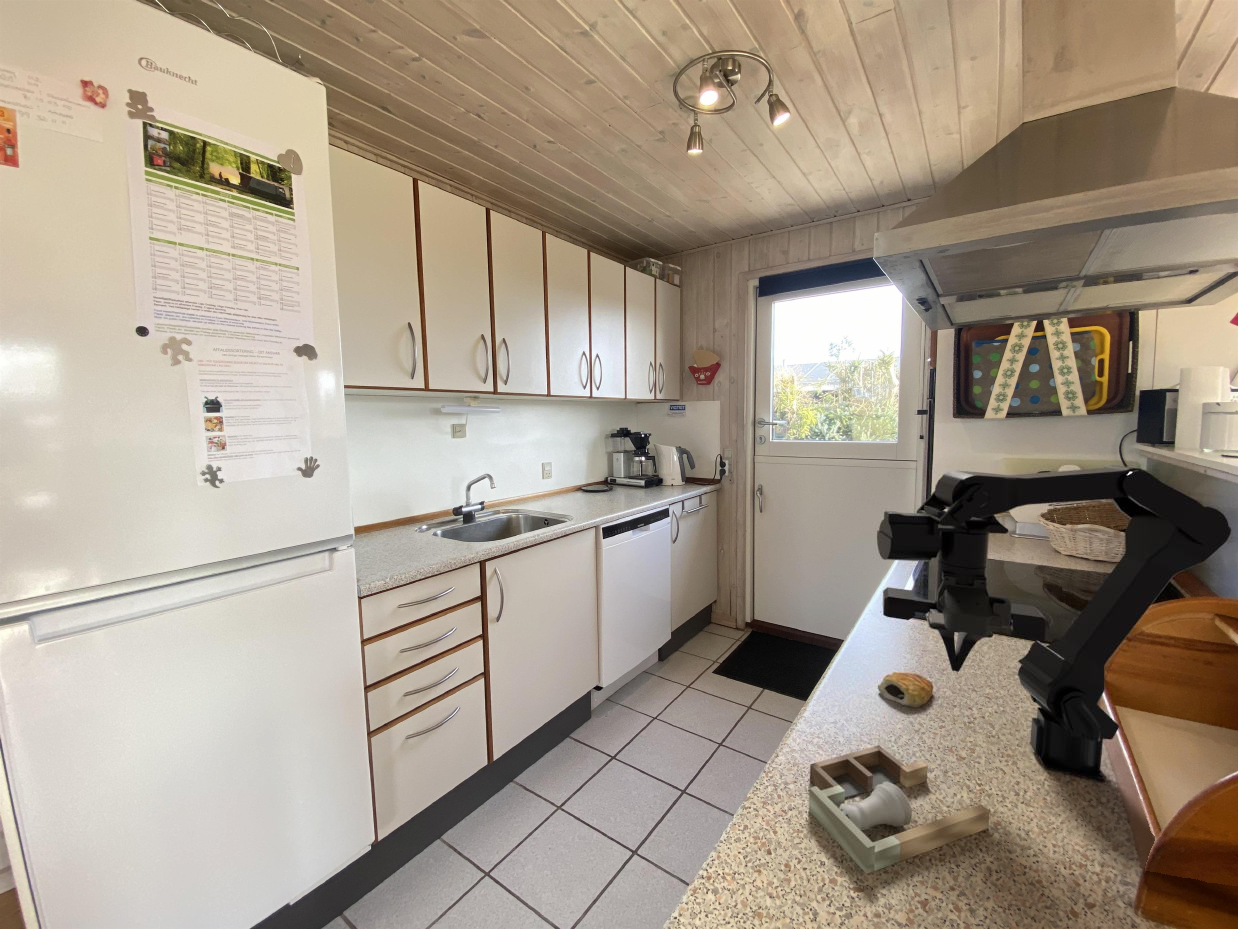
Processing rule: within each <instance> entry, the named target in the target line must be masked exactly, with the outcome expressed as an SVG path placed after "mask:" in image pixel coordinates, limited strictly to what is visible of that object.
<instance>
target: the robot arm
mask: <svg viewBox="0 0 1238 929" xmlns="http://www.w3.org/2000/svg"><path fill="white" fill-rule="evenodd" d="M1099 500H1102V501H1103V500H1111V502H1112V504H1113V505H1114V506H1115V508H1116V509H1117V511H1119V512H1121V513H1122V514H1123V515H1125V516H1126V517H1128V518H1129V519H1130V521H1129V523H1128V525H1127V526H1126V528H1125V531H1124V539H1125V540H1124V542H1125V544H1124V545H1125V546H1124V547H1125V548H1124V554H1123V556H1122V557H1121V559H1120V560H1119V561H1118V563H1117V564H1116V566H1114V568H1113V569H1112V571H1111V572H1110V573H1109V575H1107V577H1106V579H1104V582H1103V583H1102V584H1101V586H1100V587H1099V588H1097V591H1096V592H1095V593H1094V595H1093V596H1092V597H1091V599H1090V600H1089V601H1088V603H1087V604H1086V605H1085V607H1084V608H1083V610H1081V612H1080V614H1079V615H1078V616H1077V617H1076V619H1075V621H1074V622H1073V623H1072V624H1071V626H1070V627H1069V628H1068V630H1067V631H1066V633H1065V634H1064V635H1063V636H1062V637H1061V639H1059V640H1057V641H1055V642H1054V641H1053V642H1052V643H1050V644H1048V645H1047V644H1046V645H1045V644H1043V643H1042V642H1041V641H1043V642H1046V641H1049V638H1050V624H1049V623H1050V622H1049V621H1048V620H1047V618H1046V617H1045V616H1044V615H1043V614H1042V613H1041V611H1040V610H1038V609H1037V608H1036V606H1034V605H1027V604H1020V603H1013V602H1011V599H1009V598H1006V597H998V596H991V595H989V592H988V588H987V570H988V557H989V556H988V555H989V542H990V541H989V540H990V539H989V538H990V534H997V535H999V534H1001V535H1002V534H1003V535H1006V534H1008V533H1009V528H1007V527H1005V525H1003V524H1002V523H1001V522H1000V521H999V520H998V519H997V517H996V515H1001V514H1004V513H1008V512H1010V511H1011V510H1014V509H1016V508H1018V507H1019V508H1020V507H1024V506H1028V505H1041V504H1042V505H1044V504H1061V503H1072V502H1074V503H1075V502H1087V501H1099ZM945 510H946V511H945ZM1231 534H1232V527H1230V524H1229V520H1228V519H1227V517H1226V515H1224V512H1223V513H1222V512H1221V511H1220V510H1218V509H1216V508H1213V507H1211V506H1207V505H1203V504H1202V503H1200V502H1199V501H1198V500H1196V499H1194V498H1192V497H1191V496H1188V495H1186V494H1185V493H1183V492H1181V491H1179V490H1178V489H1176V488H1173V487H1172V486H1169V485H1168V484H1167V483H1164V482H1162V481H1161V480H1159V479H1158V478H1156V477H1155V476H1154V475H1153V474H1151V473H1150V472H1148V471H1147V470H1145V469H1143V468H1139V467H1132V466H1131V467H1130V466H1123V465H1107V466H1104V467H1100V468H1097V467H1096V468H1086V469H1075V470H1074V469H1073V470H1060V471H1049V472H1037V473H1036V472H1035V473H1034V472H1033V473H1024V474H1023V473H1022V474H1000V473H999V474H998V473H990V472H989V473H988V472H980V471H967V470H952V471H947V472H946V473H944V474H942V476H941V477H940V478H939V479H938V480H937V482H936V484H935V488H934V491H933V492H932V493H931V494H930V496H928V498H927V499H926V500H925V501H924V502H923V503H922V504H921V505H920V506H919V508H917V510H916V513H912V512H910V513H909V512H898V511H893V510H892V511H891V510H885V511H884V513H883V519H882V520H881V521H880V524H879V527H878V530H877V531H876V543H877V548H878V549H877V550H878V553H879V555H880V557H881V559H882V560H885V561H886V560H887V561H907V562H927V563H928V562H930V561H931V560H932V559H936V574H935V576H936V577H935V592H934V594H935V595H934V600H933V599H931V600H930V599H925V598H917V597H915V594H914V590H912V589H903V588H898V587H897V588H894V587H889V586H887V587H886V588H885V589H883V591H882V613H883V614H882V615H883V616H884V617H886V618H891V619H899V620H905V621H910V620H911V619H913V618H914V617H916V613H922V614H925V618H926V621H927V624H928V627H929V628H930V629H932V630H935V631H938V633H939V635H940V638H941V640H942V642H943V644H944V649H945V651H946V654H947V658H948V662H949V664H950V665H949V666H950V668H951V672H956V673H957V672H958V673H959V672H960V671H961V668H962V667H963V665H964V663H965V662H966V660H967V658H968V656H969V654H970V653H971V651H972V650H973V648H974V647H975V646H976V644H977V643H978V642H979V641H981V640H982V639H983V638H986V639H987V638H989V639H992V638H993V636H994V633H993V631H992V630H991V627H992V628H998V629H1003V627H1004V628H1009V627H1010V629H1011V630H1012V631H1013V633H1014V634H1015V635H1016V636H1018V637H1019V638H1022V639H1023V638H1024V639H1029V640H1035V641H1034V642H1033V643H1032V644H1031V645H1030V647H1029V650H1028V651H1027V653H1026V655H1024V656H1023V657H1022V658H1020V659H1018V661H1017V662H1018V664H1020V666H1019V668H1018V671H1017V676H1018V679H1019V682H1020V684H1021V686H1022V688H1023V689H1024V691H1026V692H1027V693H1028V694H1029V696H1030V699H1031V701H1032V702H1033V703H1035V704H1036V705H1037V706H1039V707H1037V710H1036V711H1037V713H1036V717H1032V718H1031V725H1030V726H1031V729H1030V742H1029V743H1030V746H1031V748H1032V750H1033V752H1034V754H1035V755H1036V756H1037V757H1038V759H1039V761H1040V763H1041V766H1042V767H1044V768H1045V769H1047V770H1050V771H1051V770H1053V771H1055V772H1060V773H1064V774H1068V775H1073V776H1075V777H1081V778H1085V779H1090V780H1094V781H1099V782H1103V783H1105V782H1106V781H1107V777H1106V776H1105V774H1104V773H1103V771H1102V769H1101V766H1102V755H1103V745H1104V744H1103V743H1104V740H1113V739H1114V737H1115V735H1116V734H1117V732H1118V730H1119V728H1120V725H1119V724H1118V723H1117V722H1116V721H1115V720H1114V719H1113V718H1112V717H1111V716H1110V715H1109V714H1107V712H1106V711H1104V709H1102V708H1101V707H1100V706H1099V705H1098V704H1099V702H1100V700H1101V699H1102V696H1103V694H1104V693H1105V688H1106V687H1105V685H1106V684H1105V681H1106V680H1105V679H1106V677H1105V676H1106V670H1105V668H1106V665H1107V663H1108V661H1110V659H1111V658H1112V656H1113V655H1114V654H1115V652H1116V651H1117V650H1118V649H1119V648H1120V646H1121V644H1122V643H1124V641H1125V639H1127V637H1128V636H1129V634H1130V633H1131V632H1132V630H1134V627H1135V626H1137V624H1138V622H1139V621H1140V620H1141V619H1142V618H1143V616H1144V615H1145V614H1146V612H1148V610H1149V608H1150V607H1151V606H1152V605H1153V603H1154V602H1155V600H1157V598H1158V597H1159V596H1160V594H1161V593H1162V591H1163V590H1164V589H1165V588H1166V586H1167V585H1168V584H1169V583H1170V581H1171V580H1172V578H1173V577H1175V576H1176V575H1177V574H1179V573H1181V572H1183V571H1186V570H1188V569H1189V570H1190V569H1191V568H1193V567H1196V566H1198V565H1200V564H1202V563H1205V562H1206V561H1207V560H1208V559H1210V558H1211V557H1212V556H1213V555H1214V554H1215V553H1216V552H1218V550H1219V549H1221V548H1223V546H1224V545H1225V544H1226V543H1227V542H1228V540H1229V538H1230V536H1231ZM955 633H956V634H957V639H956V640H955V635H956V634H955ZM955 641H956V642H955ZM955 643H956V644H955Z"/></svg>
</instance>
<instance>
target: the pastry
mask: <svg viewBox="0 0 1238 929" xmlns="http://www.w3.org/2000/svg"><path fill="white" fill-rule="evenodd" d="M877 690H878V691H879V693H880V695H882V696H883V697H884V698H886V699H889V700H890V699H891V700H890V701H893V700H894V701H893V702H895V701H896V703H897V704H900V705H902V706H905V707H910V708H919V707H921V706H922V705H925V704H926V703H928V701H929V700H930V698H931V697H932V696H933V692H934V685H933V682H931V681H930V679H927V678H926V677H923V676H922V675H921V674H919V673H918V674H917V673H909V672H896V671H894V672H893V673H891V674H887V675H885V676H884V677H883V678H882V681H881V682H880V683H879V684H878V685H877Z"/></svg>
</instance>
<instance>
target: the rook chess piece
mask: <svg viewBox="0 0 1238 929" xmlns="http://www.w3.org/2000/svg"><path fill="white" fill-rule="evenodd" d="M839 809H840V810H841V811H842V812H843V813H844V814H845V815H846V816H847V817H848V818H849V819H850V820H851V821H852V822H853V823H854V824H855V825H856V826H857V827H858V828H859V829H860V830H861V831H862V830H863V831H864V830H865V831H869V830H870V827H874V826H877V825H878V826H879V825H882V824H883V825H884V824H885V825H887V826H892V827H894V828H895V827H897V828H898V827H902V826H903V825H904V826H908V825H909V824H910V823H911V822H912V817H913V811H912V807H911V804H910V802H909V800H908V797H907V795H905V793H904V791H903V790H902V789H901V788H899V786H898V785H896V784H895V783H894V784H892V783H890V782H888V781H887V782H883V783H882V784H880V785H877V786H876V787H875V789H874V790H872V791H871V794H870V796H868V797H867V798H865V799H863V800H862V801H859V802H857V801H852V803H851V805H849V804H846V803H845V804H844V803H843V804H841V805H840V807H839Z"/></svg>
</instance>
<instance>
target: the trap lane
mask: <svg viewBox="0 0 1238 929" xmlns="http://www.w3.org/2000/svg"><path fill="white" fill-rule="evenodd" d="M928 767H929V766H928V764H926V763H925V762H923V760H918V761H915V762H912V763H909V764H904V763H903V762H901V760H899V759H898V758H896V757H895V756H894V755H893V754H891V753H890V752H889V751H888V750H886V749H885V748H883V747H882V746H880V744H879V745H875V746H871V747H867V748H863V749H860V750H857V751H854V752H853V751H852V752H849V753H847V754H842V755H839V756H835V757H832V758H828V759H824V760H821V761H816V762H814V763H810V767H809V780H810V782H811V783H812V784H813V785H814V786H811V787H809V789H808V791H809V792H808V812H809V813H810V814H811V816H813V817H814V818H815V820H816V821H817V822H818V823H819V824H820V825H821V826H822V827H823V828H824V830H825V831H827V833H829V835H830V836H831V837H832V838H833V839H834V840H835V842H836V843H838V845H839V846H840V847H841V848H842V849H843V850H844V851H845V853H846V854H848V856H849V857H851V859H852V860H853V861H854V862H855V863H856V865H858V867H859V868H860V869H861V870H862V871H863V872H864V873H865V874H866V875H868V874H871V873H874V872H876V871H879V870H881V869H883V868H886V867H889V866H891V865H895V864H897V863H899V862H902V861H905V860H908V859H910V858H913V857H916V856H918V855H921V854H924V853H926V852H929V851H931V850H933V849H937V848H939V847H942V846H944V845H948V844H949V843H952V842H955V841H958V840H961V839H963V838H966V837H969V836H972V835H974V834H977V833H980V832H982V831H984V830H987V829H989V824H990V810H989V809H988V808H987V807H986V806H984V805H983V804H978V805H976V806H973V807H970V808H967V809H964V810H961V811H958V812H955V813H953V814H950V815H947V816H944V817H941V818H939V819H936V820H933V821H930V822H927V823H925V824H921V825H919V826H916V827H913V828H910V829H908V830H904V831H902V832H899V833H896V834H894V835H890V836H888V837H885V838H883V839H879V840H876V841H873V842H872V840H871V839H870V838H869V837H868V836H867V835H866V833H864V832H863V831H862V830H860V829H859V828H858V827H857V826H856V825H855V824H854V823H853V822H852V821H851V820H850V819H849V818H848V817H847V816H846V815H845V814H844V813H843V812H842V811H841V810H840V809H839V807H840V805H841V804H843V803H844V804H846V803H845V800H846V799H849V798H853V797H855V796H858V795H863V794H865V793H870V792H871V793H872V792H873V791H874V789H875V787H876V786H877V785H880V784H882V783H883V782H887V781H888V782H890V783H892V784H894V785H895V784H897V783H900V784H901V785H903V786H904V787H905V788H910V787H913V786H917V785H919V784H922V783H926V782H927V781H928Z"/></svg>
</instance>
